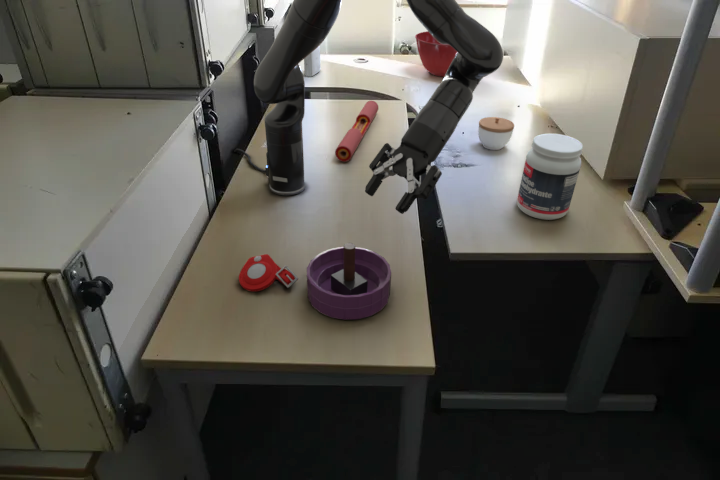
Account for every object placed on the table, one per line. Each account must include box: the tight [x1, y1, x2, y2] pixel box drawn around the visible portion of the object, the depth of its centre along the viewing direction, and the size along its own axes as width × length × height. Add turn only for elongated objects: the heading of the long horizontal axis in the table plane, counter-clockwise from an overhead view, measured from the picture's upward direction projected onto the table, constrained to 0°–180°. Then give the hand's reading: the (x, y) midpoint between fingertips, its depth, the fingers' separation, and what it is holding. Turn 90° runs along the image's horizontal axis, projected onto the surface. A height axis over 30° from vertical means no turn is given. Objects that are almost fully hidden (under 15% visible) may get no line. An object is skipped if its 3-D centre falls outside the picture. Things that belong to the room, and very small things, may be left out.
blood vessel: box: [334, 100, 379, 163], centre depth 172 cm, size 42×5×5 cm, turn 167°
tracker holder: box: [238, 253, 299, 293], centre depth 108 cm, size 12×4×10 cm
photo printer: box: [303, 45, 321, 77], centre depth 228 cm, size 10×4×12 cm, turn 160°
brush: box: [331, 242, 368, 295], centre depth 102 cm, size 6×4×11 cm
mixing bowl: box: [414, 30, 458, 78], centre depth 233 cm, size 28×28×16 cm
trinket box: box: [477, 116, 515, 151], centre depth 166 cm, size 11×11×9 cm
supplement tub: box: [516, 132, 584, 221], centre depth 130 cm, size 13×13×18 cm
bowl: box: [306, 246, 392, 320], centre depth 104 cm, size 16×16×6 cm
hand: (383, 202), depth 100 cm, fingers open, 8 cm apart
